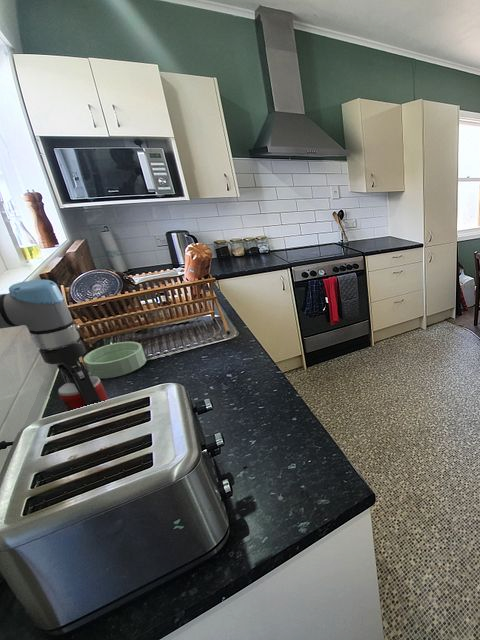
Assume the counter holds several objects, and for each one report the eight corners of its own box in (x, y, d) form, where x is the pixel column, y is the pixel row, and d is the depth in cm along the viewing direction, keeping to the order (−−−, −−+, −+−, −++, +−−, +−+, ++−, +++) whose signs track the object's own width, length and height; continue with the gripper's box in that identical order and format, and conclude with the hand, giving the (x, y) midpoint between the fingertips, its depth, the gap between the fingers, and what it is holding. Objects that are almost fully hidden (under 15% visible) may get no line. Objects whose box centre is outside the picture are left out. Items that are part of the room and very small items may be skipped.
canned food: (121, 409, 97) (107, 376, 92) (93, 429, 90) (76, 395, 85) (96, 407, 97) (81, 374, 93) (66, 426, 90) (48, 392, 86)
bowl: (101, 385, 107) (93, 369, 104) (83, 370, 113) (76, 354, 111) (155, 364, 118) (149, 349, 115) (135, 352, 125) (130, 337, 122)
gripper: (96, 349, 82) (127, 424, 92) (65, 327, 92) (97, 397, 101) (53, 362, 76) (91, 441, 86) (25, 337, 86) (62, 410, 95)
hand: (94, 417), depth 93 cm, fingers closed on canned food, 8 cm apart
